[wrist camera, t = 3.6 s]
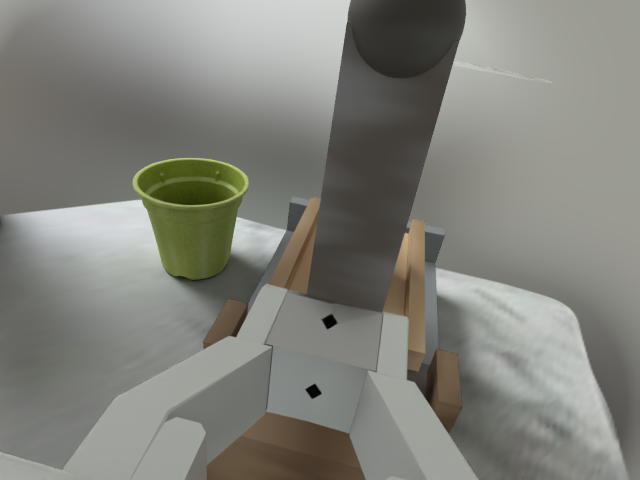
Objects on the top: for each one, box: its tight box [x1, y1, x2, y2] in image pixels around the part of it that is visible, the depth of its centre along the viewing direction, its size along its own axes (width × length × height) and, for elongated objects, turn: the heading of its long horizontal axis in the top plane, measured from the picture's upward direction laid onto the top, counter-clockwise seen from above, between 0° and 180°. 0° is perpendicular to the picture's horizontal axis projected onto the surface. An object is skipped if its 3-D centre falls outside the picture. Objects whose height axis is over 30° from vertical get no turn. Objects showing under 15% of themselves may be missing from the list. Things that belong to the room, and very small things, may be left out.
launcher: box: [269, 0, 466, 396], centre depth 20 cm, size 9×14×17 cm, turn 169°
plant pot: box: [133, 158, 249, 280], centre depth 39 cm, size 9×9×9 cm
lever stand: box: [203, 299, 462, 480], centre depth 21 cm, size 14×12×11 cm
